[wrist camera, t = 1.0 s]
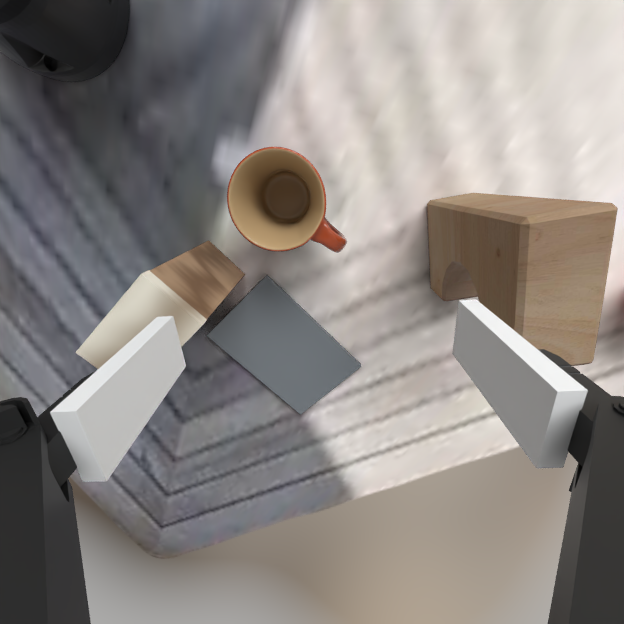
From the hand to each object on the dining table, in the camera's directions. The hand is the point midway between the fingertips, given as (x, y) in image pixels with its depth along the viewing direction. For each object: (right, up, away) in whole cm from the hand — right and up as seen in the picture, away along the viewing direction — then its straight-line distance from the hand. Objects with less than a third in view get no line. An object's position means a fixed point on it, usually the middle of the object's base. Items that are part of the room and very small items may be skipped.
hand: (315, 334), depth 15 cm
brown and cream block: (-14, +5, +27) cm, 31 cm away
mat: (-4, -4, +30) cm, 31 cm away
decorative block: (+17, +9, +25) cm, 31 cm away
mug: (-2, +14, +23) cm, 27 cm away
